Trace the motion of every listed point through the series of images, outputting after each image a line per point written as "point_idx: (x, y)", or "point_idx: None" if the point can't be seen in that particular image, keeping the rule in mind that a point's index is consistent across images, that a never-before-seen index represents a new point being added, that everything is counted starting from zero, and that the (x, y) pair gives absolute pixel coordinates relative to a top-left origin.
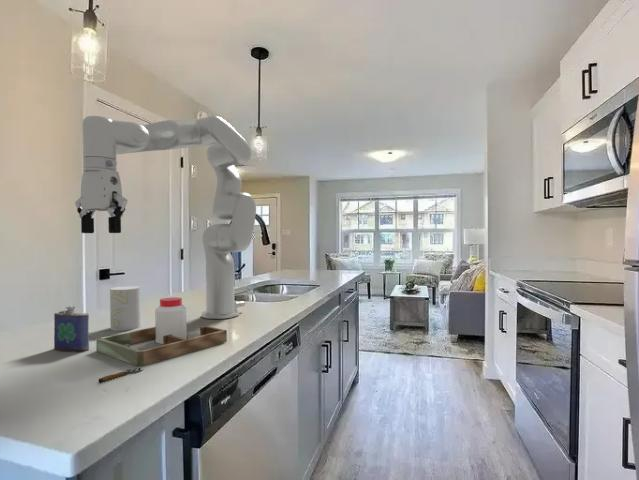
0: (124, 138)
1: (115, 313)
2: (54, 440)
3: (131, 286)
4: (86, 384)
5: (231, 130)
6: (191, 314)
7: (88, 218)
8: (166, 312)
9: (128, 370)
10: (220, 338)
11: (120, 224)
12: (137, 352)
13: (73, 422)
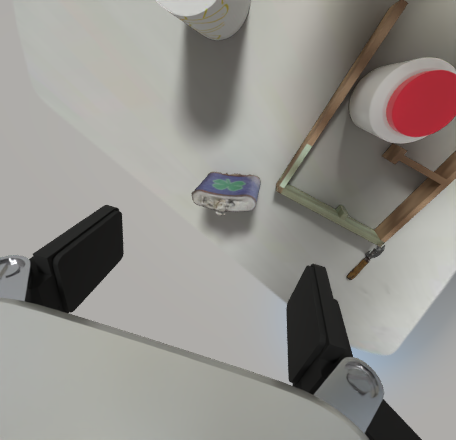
0: None
1: (205, 31)
2: (370, 348)
3: None
4: (337, 280)
5: None
6: None
7: (64, 291)
8: (408, 142)
9: (368, 253)
10: None
11: (332, 304)
12: (376, 244)
13: (369, 332)
